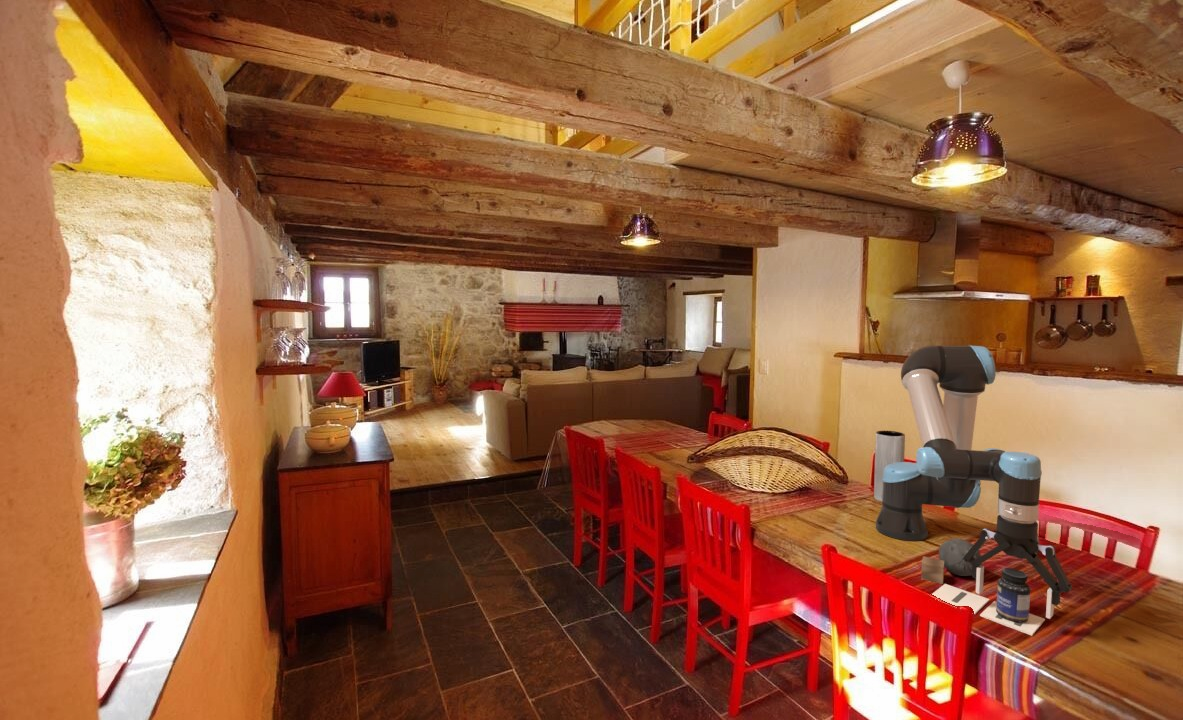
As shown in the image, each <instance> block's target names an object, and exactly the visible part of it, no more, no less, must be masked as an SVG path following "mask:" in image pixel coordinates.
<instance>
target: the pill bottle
mask: <svg viewBox="0 0 1183 720" xmlns="http://www.w3.org/2000/svg"><path fill="white" fill-rule="evenodd" d="M1001 576H1002V577H1000V578H999V579H998V580H997V591H996V602H997V604H996V612H997V613H998V614H999V615H1000V616H1001V617H1003V618H1005V619H1007V620H1010V621H1013V622H1019V623H1021V622H1027V621H1028V618H1029V613H1030V601H1031V600H1030V599H1031V587H1030V585H1029V584H1028V583H1026V582H1027V581H1028V575H1027V574H1026V573H1025V572H1024V571H1022V570H1019V569H1016V568H1010V567H1005V568H1002V570H1001Z"/></svg>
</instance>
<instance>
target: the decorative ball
mask: <svg viewBox="0 0 1183 720" xmlns="http://www.w3.org/2000/svg"><path fill="white" fill-rule="evenodd" d="M973 545H974V544H973V543H972V542H970V541H968V540H966V539H963V538H950V539H948V540H947V539H946V540H945V541H944V542H942V544H941V545H940V546H939V550H938V558H939V559H938V560H943V561H944V569H946V570H947V571H948V572H951V573H952V574H953V575H957V576H960V577H969V576H972V565H971V563H969V562H966V561H964V559H963V558H964V556H965V555H966V554H967V553H968V551H969V550H970V549H971V548H972V546H973ZM980 556H982V554H981V552H980V550H978V552H977V553H976V554H975V555H974V558H975V559H977V558H979V557H980ZM980 565H983V563H981V564H980Z"/></svg>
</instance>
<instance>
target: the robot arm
mask: <svg viewBox="0 0 1183 720" xmlns="http://www.w3.org/2000/svg"><path fill="white" fill-rule="evenodd" d="M996 374H997V373H996V363H995V359H994V357H993V354H992V352H991V351H990V350H989V349H988V348H987V347H985V346H983V345H982V346H980V345H971V344H968V345H967V344H965V345H964V344H963V345H935V344H933V345H927V346H922V347H919V348H918V349H916V350H914V351H913V352H911V353H910V354H909V355H908V357H906V359H905V360H904V362H903V363H902V367H901V369H900V377H901V383H902V387H903V388H904V389H905V390H907V392H908V396H909V400H910V403H911V407H912V410H913V414H914V419H915V421H916V426H917V430H918V434H919V437H920V441H921V445H922V447H919V448H918V449H917V451H916V459H915V460H916V461H915V462H910V461H904V462H898V463H892V464H889V465H887V466H886V467H885V468H884V472H883V478H882V480H883V497H882V502H881V508H880V511H879V513H878V515H877V517H876V519H875V529H876V530H877V532H879V533H880V534H882V535H884V536H887V537H890V538H893V539H897V540H901V541H910V542H911V541H913V542H916V541H924V540H925V539H927V538H928V532H929V531H928V526H927V524H926V521H925V517H924V515H923V505H927V506H928V505H930V506H937V507H938V506H939V507H949V508H955V509H960V508H962V509H965V508H966V509H969V508H972V507H974V506H975V505H976V504H977V503H978V501H979V499H980V497H981V496H980V495H981V491H982V490H981V489H982V487H981V484H982V483H981V481H986V482H987V481H988V482H995V483H997V484H998V495H997V496H998V497H997V514H998V515H997V517H996V532H994V531H991V530H990V529H989V528H987V527H985V528H983V529H982V530H980V532H979V536H978V537H979V538H977V540H976V541H975V542H974V544H973V546H972V548H971V549H970V550H969V551H968V553H967V554H966V555H965V556H964V558H963V559H964V561H966V562H969V563H971V565H972V575H971V577H972V578H973V579H975V594H977V595H980V594H981V593H982V592H984V581H985V580H984V579H985V578H984V576H985V575H984V574H985V565H983V563H985V562H986V561H988V560H990V559H991V558H993V557H994V556H996V555H998V554H999V553H1001V552H1003V553H1005V555H1007V556H1012V557H1015V558H1017V559H1020V560H1024V559H1025V560H1026V561H1027V562H1028V563H1029V564H1030V565H1031V566H1032V567H1033V568H1034V569H1035V570H1036V572H1037V573H1038V574H1039V575H1040V577H1041V578H1042V579H1043V581H1044V582H1045V583H1046V584H1047V586H1048V587H1049V588H1048V589H1047V592H1046V605H1045V607H1046V608H1045V609H1046V611H1045V618H1047V619H1049V620H1051V618H1052V617H1053V616H1054V612H1055V609H1054V608H1055V606H1058V605H1059V604H1060V603H1061V595H1062V593H1065V594H1068V593H1070V592H1071V590H1072V589H1073V586H1072V584H1071V582H1070V580H1069V578H1068V576H1067V574H1066V573H1065V571H1064V569H1063V566H1062V565H1061V563H1060V561H1059V559H1058V557H1057V555H1056V547H1055V546H1054V545H1052V544H1049V545H1045V544H1044V545H1043V544H1040V543H1039V544H1038V542H1037V533H1039V532H1038V531H1039V530H1038V529H1039V528H1038V527H1039V524H1038V522H1037V521H1039V515H1040V514H1039V513H1040V512H1039V511H1040V508H1039V507H1040V493H1041V492H1040V490H1041V480H1042V478H1041V477H1042V465H1041V464H1042V461H1041V459H1040V457H1038V456H1037V455H1034V454H1030V453H1027V452H1021V451H1005V450H1004V449H1000V448H995V447H994V448H987V449H984V450H972V448H973V440H974V439H973V438H974V431H975V422H976V415H977V414H976V412H977V407H978V398H979V395H981V394H983V393H985V389H986V385H992V384H993V383H994V381H995V380H996ZM938 384H939V388H940V389H941V390H942V391H943V392H944V393H943V400H942V398H941V393H940V391H939V388H938ZM992 538H993V539H994V541H995V543H996V544H997V546H995V547H994V548H992V549H990V550H988V551H987V552H985V553H984V554H981V556H980V557H979V558H977V559H975V558H974V555H975V554H976V553H977V552H978V551H980V549H981V548H982V547H983V545H984V544H985V543H986V542H987V541H989V540H991V539H992ZM1037 550H1040V552H1041V553H1042V555H1044V556H1045V559H1046V560H1047V563H1048V564H1049V567H1050V569H1051V570H1052V572H1050V570H1049V568H1048V567H1046V566H1045V563H1043V562H1042V560H1041V559H1040V557H1039V555H1038V553H1037V554H1036V553H1035V552H1036V551H1037ZM981 563H982V565H980V564H981ZM1052 573H1053V574H1054V575H1053V574H1052ZM1054 576H1055V577H1054Z"/></svg>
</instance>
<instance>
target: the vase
mask: <svg viewBox="0 0 1183 720" xmlns="http://www.w3.org/2000/svg"><path fill="white" fill-rule="evenodd" d="M905 442H906V434H905V433H903V432H900V431H895V430H877V431H876V432H875V447H874V449H875V452H874V454H875V455H874V479H873V480H874V483H873V485H874V486H873V487H874V489H873V498H874V499H875V500H876V501H878V502H880V503H882V497H883V480H882V478H883V472H884V468H885V467H886V466H887V465H889V464H892V463H898V462H905V445H906V444H905Z"/></svg>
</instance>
